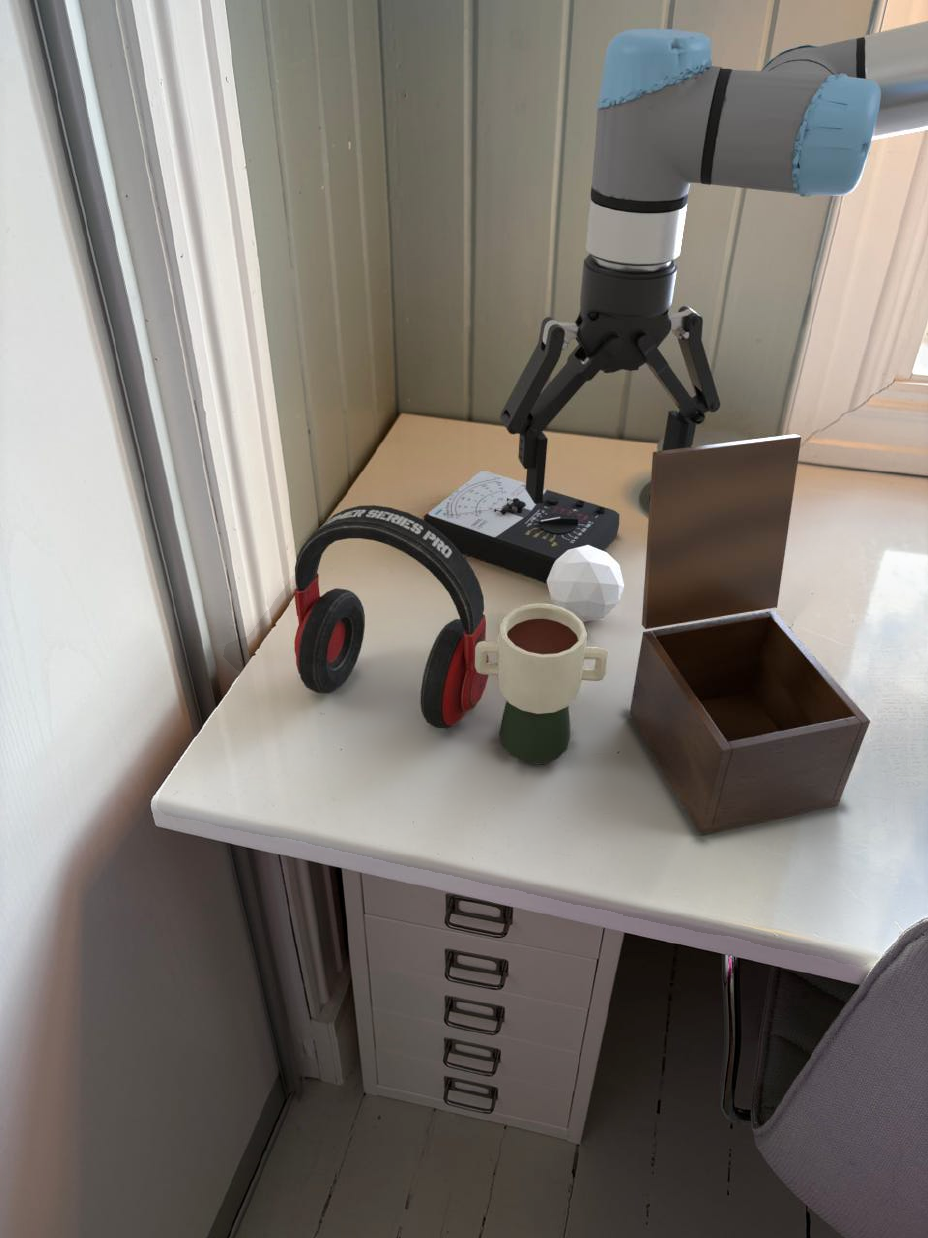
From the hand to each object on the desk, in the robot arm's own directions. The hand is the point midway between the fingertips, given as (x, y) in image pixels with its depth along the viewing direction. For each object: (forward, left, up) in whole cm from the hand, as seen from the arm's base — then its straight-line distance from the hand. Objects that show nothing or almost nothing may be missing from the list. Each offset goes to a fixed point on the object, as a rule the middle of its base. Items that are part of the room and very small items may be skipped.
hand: (601, 488), depth 88 cm
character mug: (+11, +16, -16) cm, 25 cm away
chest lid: (-5, +14, +2) cm, 15 cm away
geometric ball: (0, -1, -16) cm, 16 cm away
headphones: (+22, +7, -16) cm, 28 cm away
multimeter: (+2, -16, -16) cm, 23 cm away
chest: (-5, +22, -16) cm, 27 cm away
